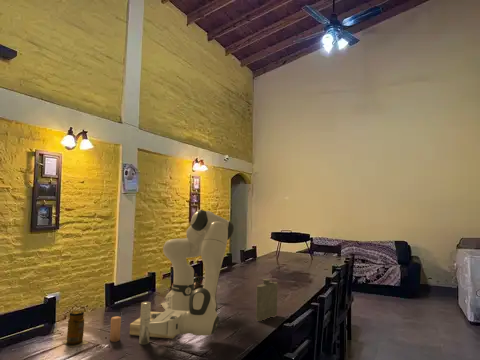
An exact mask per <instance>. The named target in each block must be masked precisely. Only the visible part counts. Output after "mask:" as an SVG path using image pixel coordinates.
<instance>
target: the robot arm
mask: <svg viewBox="0 0 480 360" xmlns="http://www.w3.org/2000/svg"><path fill="white" fill-rule="evenodd" d="M234 230H235V227H234V224H233V223H232V222H231V221H230V220H229V219H226V218H224V217H222V216H220V215H218V214H215V213H214V212H213V211H210V210H203V209H198V210H196V211H194V213H193V214H192V216H191V219H190V226H188V228H187V229H186V233H185V234H186V237H185V238H171V239H168V240H166V241H165V243H164V244H163V249H162V250H163V254H164V256H165V257H166V258H167V259H168V260H169V261H170V263H171V265H172V269H173V283H171V290H170V291H169V292H168V293H167V294H166V296H164V301H163V302H162V303H160V306H161V305H162V306H161V307H162V308H163V309H164V311H163V313H153V314H151V318H153V320H152V321H147V320H143V321H142V322H141V325H142V326H147V327H148V331H149V332H150V333H154V334H161V335H166V334H167V335H168V336H169V337H172V336H174V335H176V336H177V335H182V334H183V335H187V334H191V335H194V336H211V335H214V333H216V331H217V330H218V327H219V322H220V317H219V315H218V313H217V312H218V303H217V302H218V301H217V290H218V285H219V280H220V279H219V277H220V272H221V269H222V265H223V260H224V258H225V255H226V251H227V246H228V245H227V244H228V240H229V239H231V237H233V234H234ZM197 257H198V258H199V257H201V260H202V263H203V264H202V265H203V268H204V277H205V279H204V281H203V284H202V285H203V288H198V289H195V290H194V282H195V279H194V277H195V269H194V268H193V266H192V265H190V264H188V262H187V259H191V258H197Z"/></svg>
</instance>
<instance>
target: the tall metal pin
mask: <svg viewBox="0 0 480 360" xmlns="http://www.w3.org/2000/svg"><path fill="white" fill-rule="evenodd" d="M151 310H152V302H150V301H143V302H141V303H140V316H139V318H140V336H139V335H138V336H139V339H138V343H139V344H140V345H149V343H150V336H149V334H150V332H149V331H148V327H147V326H142V325H141V322H142V321H143V320H147V321H150V314H151V312H152V311H151Z"/></svg>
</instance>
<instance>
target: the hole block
mask: <svg viewBox="0 0 480 360" xmlns="http://www.w3.org/2000/svg"><path fill="white" fill-rule="evenodd" d="M163 312H164V311H163ZM163 312H162V311H161V312H159V311H151V314H153V313H163ZM151 314H150V321H152V320H153V318H151ZM129 335H130V336H140V317H138V318H137V319H135V320H134V321H132V322H131V323H129ZM150 337H151V338H160V339H161V338H163V339H175V338H176V337H177V335H174V336H172V337H169V336H168V335H167V334H166V335H161V334H154V333H150V334H149V338H150Z"/></svg>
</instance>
